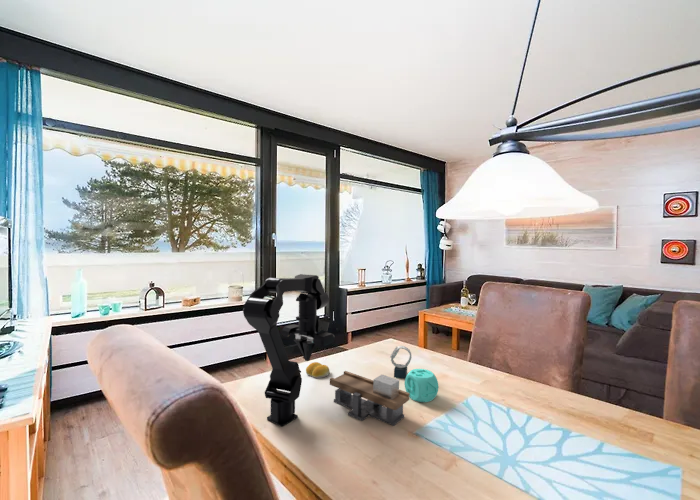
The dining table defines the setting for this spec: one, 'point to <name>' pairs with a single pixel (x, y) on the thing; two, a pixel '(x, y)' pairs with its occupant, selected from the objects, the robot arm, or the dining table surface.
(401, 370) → the watch
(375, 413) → the stand
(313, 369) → the bread roll
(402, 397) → the beam
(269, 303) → the robot arm
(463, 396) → the dining table surface
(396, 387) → the rider
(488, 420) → the dining table surface
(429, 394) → the decorative dice
